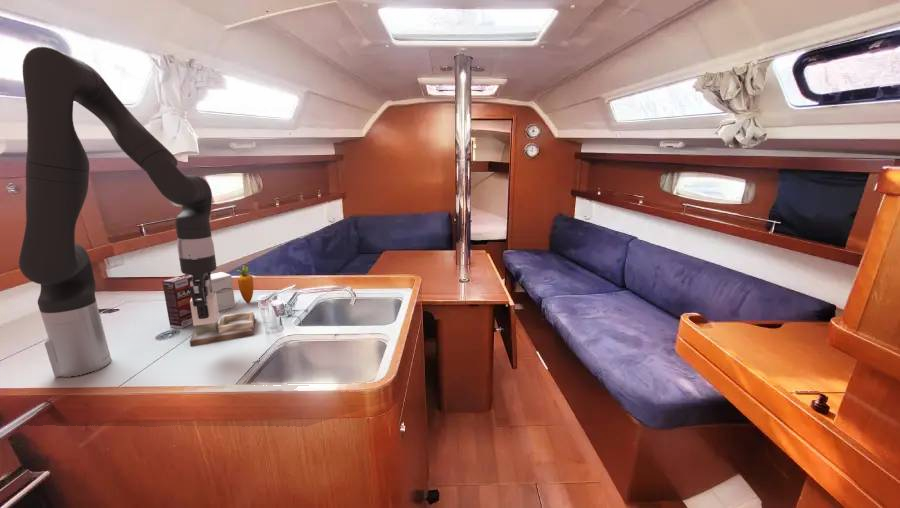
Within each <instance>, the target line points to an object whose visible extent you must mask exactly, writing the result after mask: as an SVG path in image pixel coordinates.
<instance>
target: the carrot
mask: <svg viewBox="0 0 900 508" xmlns="http://www.w3.org/2000/svg"><path fill="white" fill-rule="evenodd" d="M248 271H249V267H248V266H247V267H246V265H242V270H240V269H237V270H236V272H238V273H240V274H241V275H240V276H239V277H238V278H237V283H238V288H239V292H240V295H241V297H242V298H243V300H244V301H245V303H246V304H248V303H249V304H250V303H251V302H252V299H253V294H254V277H253V275H251V274H248Z"/></svg>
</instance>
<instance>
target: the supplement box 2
mask: <svg viewBox="0 0 900 508" xmlns="http://www.w3.org/2000/svg"><path fill="white" fill-rule="evenodd" d="M232 277H233V276H232V275H231V274H229V273H226V272H224V271H219V272H215V273H211V285H212V292H211V293H214V292H216V297H217V305H218V312H220V311H221V312H222V311H224V310H226V309H231V308H234V307H233V306H235V307H236V302H235V294H234V286H233V285H234V284H233V278H232ZM230 307H231V308H230Z"/></svg>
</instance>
